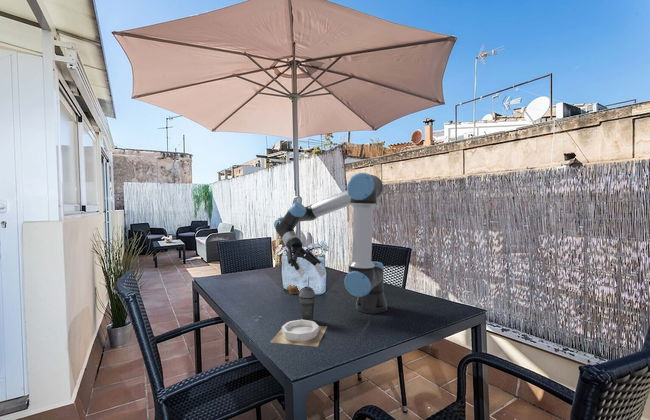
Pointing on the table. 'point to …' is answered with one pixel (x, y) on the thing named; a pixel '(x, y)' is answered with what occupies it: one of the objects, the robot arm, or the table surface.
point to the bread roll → (292, 289)
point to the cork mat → (313, 342)
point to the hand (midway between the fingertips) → (313, 275)
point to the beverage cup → (307, 302)
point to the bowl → (300, 330)
